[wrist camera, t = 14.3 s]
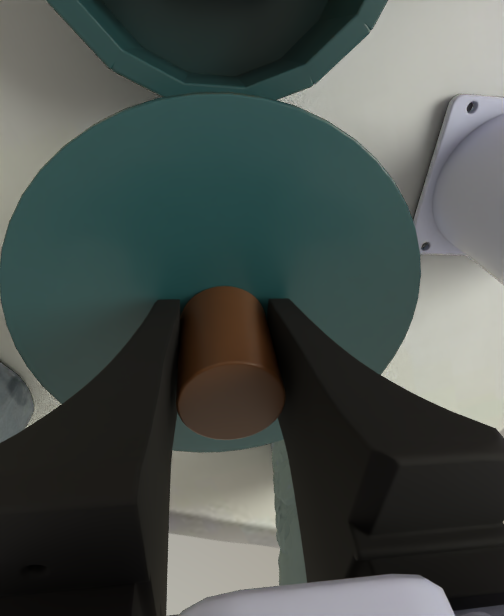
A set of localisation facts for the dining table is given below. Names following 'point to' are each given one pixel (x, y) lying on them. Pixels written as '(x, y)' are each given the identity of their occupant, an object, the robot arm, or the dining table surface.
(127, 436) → the robot arm
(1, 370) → the moka pot
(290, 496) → the green embossed cup
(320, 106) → the dining table surface
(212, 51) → the pot
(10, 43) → the dining table surface
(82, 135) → the lid
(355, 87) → the dining table surface
